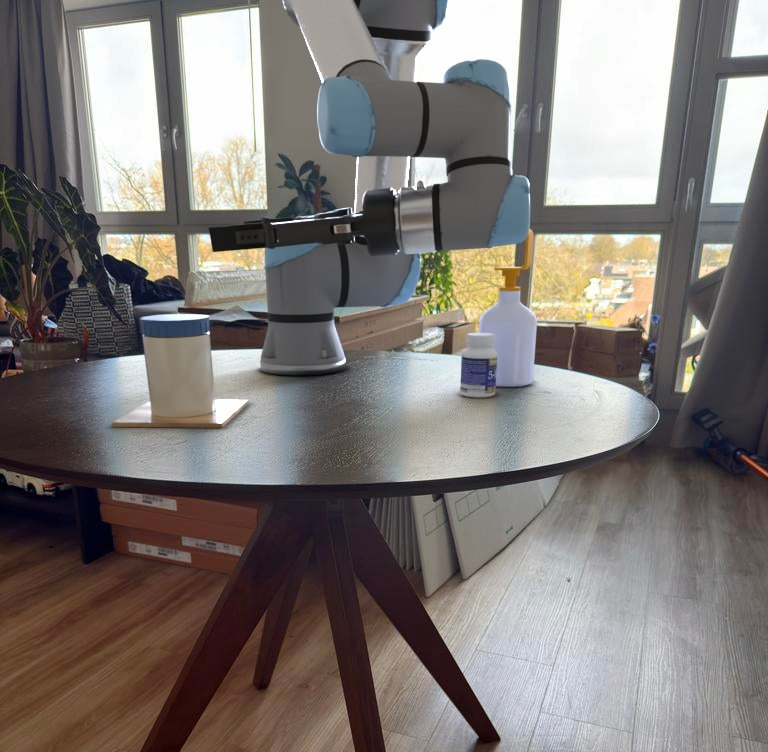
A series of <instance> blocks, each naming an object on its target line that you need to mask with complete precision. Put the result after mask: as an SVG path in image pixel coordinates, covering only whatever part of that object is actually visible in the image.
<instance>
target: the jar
mask: <svg viewBox="0 0 768 752" xmlns="http://www.w3.org/2000/svg"><path fill="white" fill-rule="evenodd" d="M141 338H142V346H143V355H144V363H145V371H146V372H145V373H146V380H147V387H148V396H149V401H150V405H151V413H152V414H153V415H156V416H160V417H171V418H180V417H193V416H200V415H205V414H209V413H211V412H214V411H215V410H216V400H217V399H216V388H215V378H214V377H215V376H214V366H213V355H212V354H213V353H212V345H211V344H212V343H211V332H208V333H205V334H199V335H190V336H167V337H166V336H147V335H142V334H141Z"/></svg>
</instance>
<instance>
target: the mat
mask: <svg viewBox="0 0 768 752" xmlns="http://www.w3.org/2000/svg"><path fill="white" fill-rule="evenodd" d="M248 405H249V400H248V399H216V410H215V411H214V412H211V413H209V414H205V415H200V416H193V417H180V418H171V417H160V416H156V415H153V414H152V413H151V405H150V400H148V401H147V402H146V401H145V403H143V404H141V405H140V406H138V407H136V408H133V410H130V411H129V412H127V413H125V414H123V415H121V416H120V417H119V418H117V419H115V420H113V421H111V427H113V428H183V429H184V428H185V429H186V428H187V429H188V428H193V429H194V428H195V429H197V428H198V429H199V428H200V429H202V428H203V429H222V428H224V427H225V426H226V425H227V424H228V423H230V421H231V420H232V419H234V418H235V417H236V416H237V415H238V414H240V413H241V411H242V410H244V409H245V408H246V406H248Z"/></svg>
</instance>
